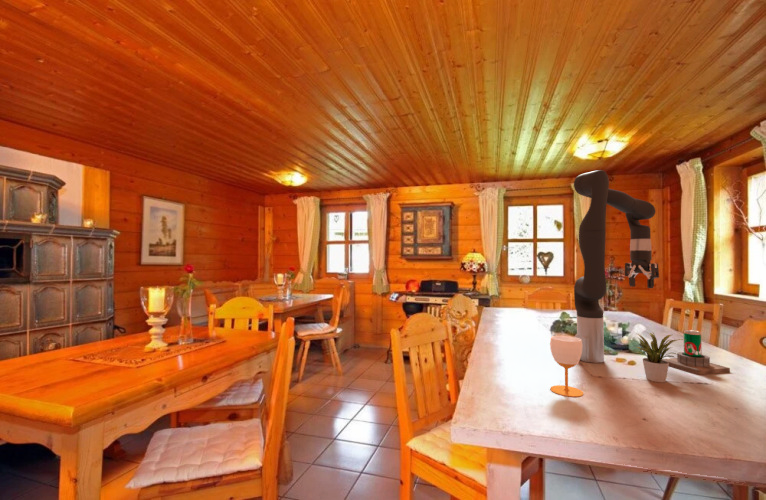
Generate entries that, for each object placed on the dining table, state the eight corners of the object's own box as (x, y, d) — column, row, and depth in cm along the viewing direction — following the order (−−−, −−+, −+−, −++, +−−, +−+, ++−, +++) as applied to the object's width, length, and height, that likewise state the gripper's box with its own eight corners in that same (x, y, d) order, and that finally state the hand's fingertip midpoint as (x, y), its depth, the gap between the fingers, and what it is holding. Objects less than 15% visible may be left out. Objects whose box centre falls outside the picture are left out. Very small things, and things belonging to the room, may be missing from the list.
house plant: (690, 379, 119) (689, 330, 120) (687, 391, 109) (686, 337, 110) (637, 370, 129) (637, 325, 129) (631, 380, 119) (630, 330, 119)
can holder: (698, 374, 125) (697, 361, 125) (659, 363, 138) (659, 351, 138) (729, 372, 127) (729, 359, 127) (689, 361, 141) (689, 349, 141)
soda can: (695, 361, 135) (694, 329, 135) (705, 365, 130) (704, 332, 130) (680, 361, 136) (679, 329, 136) (690, 365, 131) (689, 332, 131)
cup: (580, 388, 112) (579, 336, 112) (586, 398, 103) (585, 342, 103) (548, 384, 115) (548, 334, 115) (552, 394, 106) (551, 340, 106)
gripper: (619, 250, 161) (619, 286, 160) (648, 249, 147) (649, 288, 146) (633, 250, 162) (634, 285, 162) (663, 249, 148) (664, 288, 148)
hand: (641, 287), depth 154 cm, fingers open, 8 cm apart
